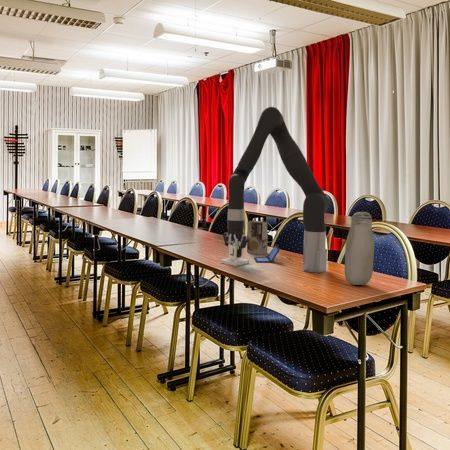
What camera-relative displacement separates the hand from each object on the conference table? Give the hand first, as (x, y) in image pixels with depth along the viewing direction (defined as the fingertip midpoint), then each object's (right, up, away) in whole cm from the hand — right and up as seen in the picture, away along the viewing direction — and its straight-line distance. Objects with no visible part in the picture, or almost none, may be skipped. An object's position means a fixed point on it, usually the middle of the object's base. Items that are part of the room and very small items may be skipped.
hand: (234, 256), depth 220 cm
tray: (0, -4, 0) cm, 4 cm away
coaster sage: (+9, -5, -6) cm, 12 cm away
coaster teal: (+4, -5, -10) cm, 12 cm away
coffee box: (+12, 0, +31) cm, 33 cm away
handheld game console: (+15, -3, +8) cm, 17 cm away
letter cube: (0, -1, 0) cm, 1 cm away
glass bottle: (+46, -9, -35) cm, 58 cm away
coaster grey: (+8, -6, -16) cm, 19 cm away
